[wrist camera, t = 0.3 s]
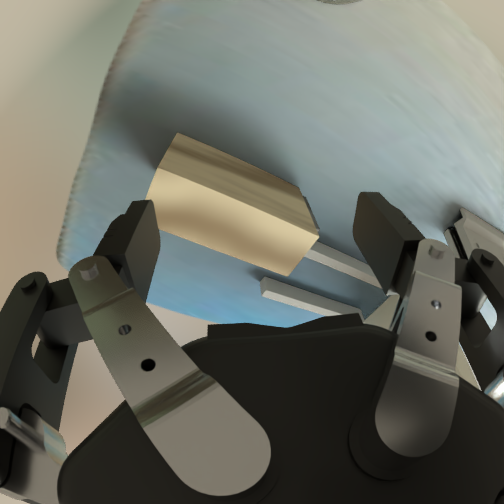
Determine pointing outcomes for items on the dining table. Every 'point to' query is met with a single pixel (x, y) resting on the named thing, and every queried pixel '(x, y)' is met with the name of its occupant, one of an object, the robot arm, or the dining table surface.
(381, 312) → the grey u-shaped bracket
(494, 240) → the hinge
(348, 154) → the dining table surface
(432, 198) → the dining table surface
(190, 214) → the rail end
